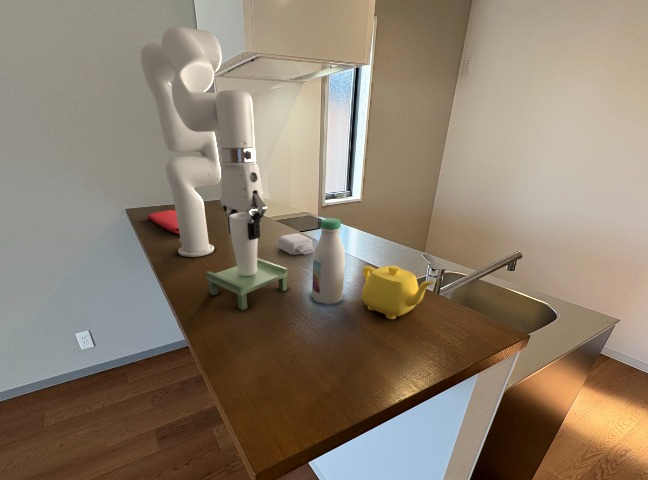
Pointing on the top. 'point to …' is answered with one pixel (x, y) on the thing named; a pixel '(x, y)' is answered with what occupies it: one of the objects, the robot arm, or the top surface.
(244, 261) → the drinking glass
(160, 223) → the red flat wedge
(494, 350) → the top surface
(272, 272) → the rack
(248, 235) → the robot arm
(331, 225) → the milk bottle
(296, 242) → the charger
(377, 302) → the teapot
